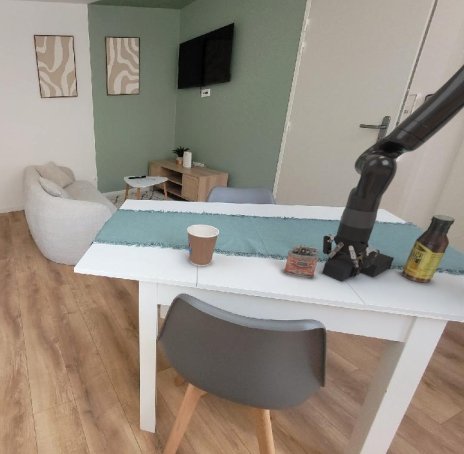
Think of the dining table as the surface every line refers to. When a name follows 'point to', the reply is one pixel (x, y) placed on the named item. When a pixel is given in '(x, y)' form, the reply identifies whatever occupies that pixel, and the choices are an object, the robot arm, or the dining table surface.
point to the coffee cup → (201, 243)
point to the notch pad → (375, 264)
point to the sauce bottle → (428, 250)
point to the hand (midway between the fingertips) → (341, 271)
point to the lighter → (301, 262)
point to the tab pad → (339, 267)
